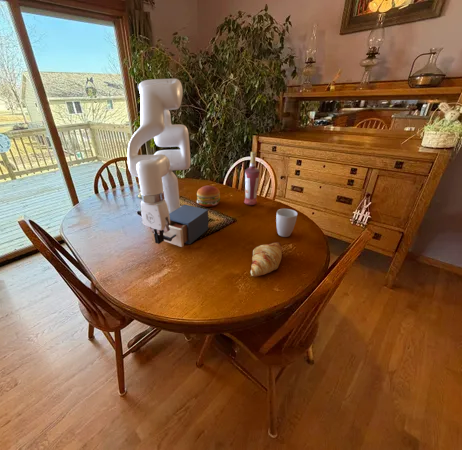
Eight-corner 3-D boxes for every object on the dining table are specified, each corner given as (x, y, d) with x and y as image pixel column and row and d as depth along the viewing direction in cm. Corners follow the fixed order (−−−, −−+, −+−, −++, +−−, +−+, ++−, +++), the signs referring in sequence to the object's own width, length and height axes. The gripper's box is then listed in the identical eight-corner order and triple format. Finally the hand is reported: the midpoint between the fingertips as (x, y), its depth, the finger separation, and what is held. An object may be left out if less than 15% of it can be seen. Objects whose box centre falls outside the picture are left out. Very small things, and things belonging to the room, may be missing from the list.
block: (170, 236, 99) (169, 227, 97) (177, 232, 102) (176, 223, 100) (179, 239, 97) (178, 230, 95) (185, 234, 100) (184, 225, 98)
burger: (202, 210, 125) (201, 192, 120) (193, 201, 136) (191, 185, 132) (224, 205, 130) (224, 188, 125) (213, 197, 141) (213, 181, 136)
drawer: (175, 252, 90) (173, 235, 87) (153, 244, 96) (150, 228, 92) (200, 232, 103) (199, 216, 100) (180, 226, 109) (178, 210, 105)
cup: (294, 230, 103) (297, 209, 98) (293, 240, 96) (297, 218, 92) (274, 228, 106) (277, 207, 101) (273, 237, 99) (275, 215, 94)
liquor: (258, 206, 127) (262, 153, 113) (244, 207, 127) (246, 153, 114) (255, 201, 133) (259, 150, 120) (242, 201, 133) (244, 150, 120)
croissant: (259, 290, 77) (272, 278, 71) (236, 269, 79) (246, 256, 74) (283, 257, 91) (295, 244, 86) (262, 240, 94) (273, 227, 88)
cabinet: (190, 244, 97) (188, 223, 92) (166, 236, 103) (163, 216, 98) (208, 228, 107) (208, 209, 103) (186, 222, 114) (184, 204, 109)
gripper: (129, 196, 82) (138, 241, 91) (162, 204, 75) (168, 252, 84) (145, 189, 88) (152, 232, 96) (176, 196, 80) (181, 242, 89)
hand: (159, 241), depth 90 cm, fingers closed
